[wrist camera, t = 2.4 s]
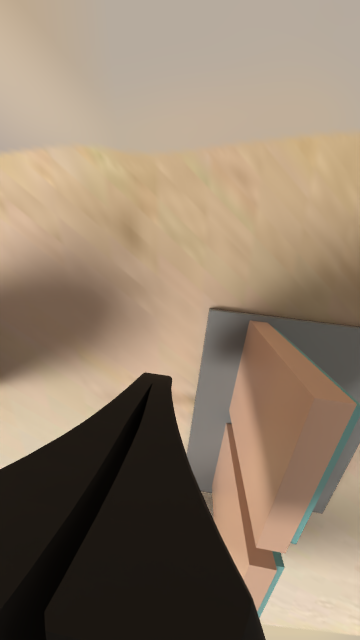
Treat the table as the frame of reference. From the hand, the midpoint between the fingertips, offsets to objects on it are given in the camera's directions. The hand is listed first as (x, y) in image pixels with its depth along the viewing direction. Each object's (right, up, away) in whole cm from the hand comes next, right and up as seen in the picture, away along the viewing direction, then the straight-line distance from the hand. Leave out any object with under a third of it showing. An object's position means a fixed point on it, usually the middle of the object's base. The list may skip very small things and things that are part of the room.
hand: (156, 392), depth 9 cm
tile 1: (+5, -7, +5) cm, 10 cm away
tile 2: (+5, 0, +3) cm, 6 cm away
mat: (+8, -4, +4) cm, 9 cm away
